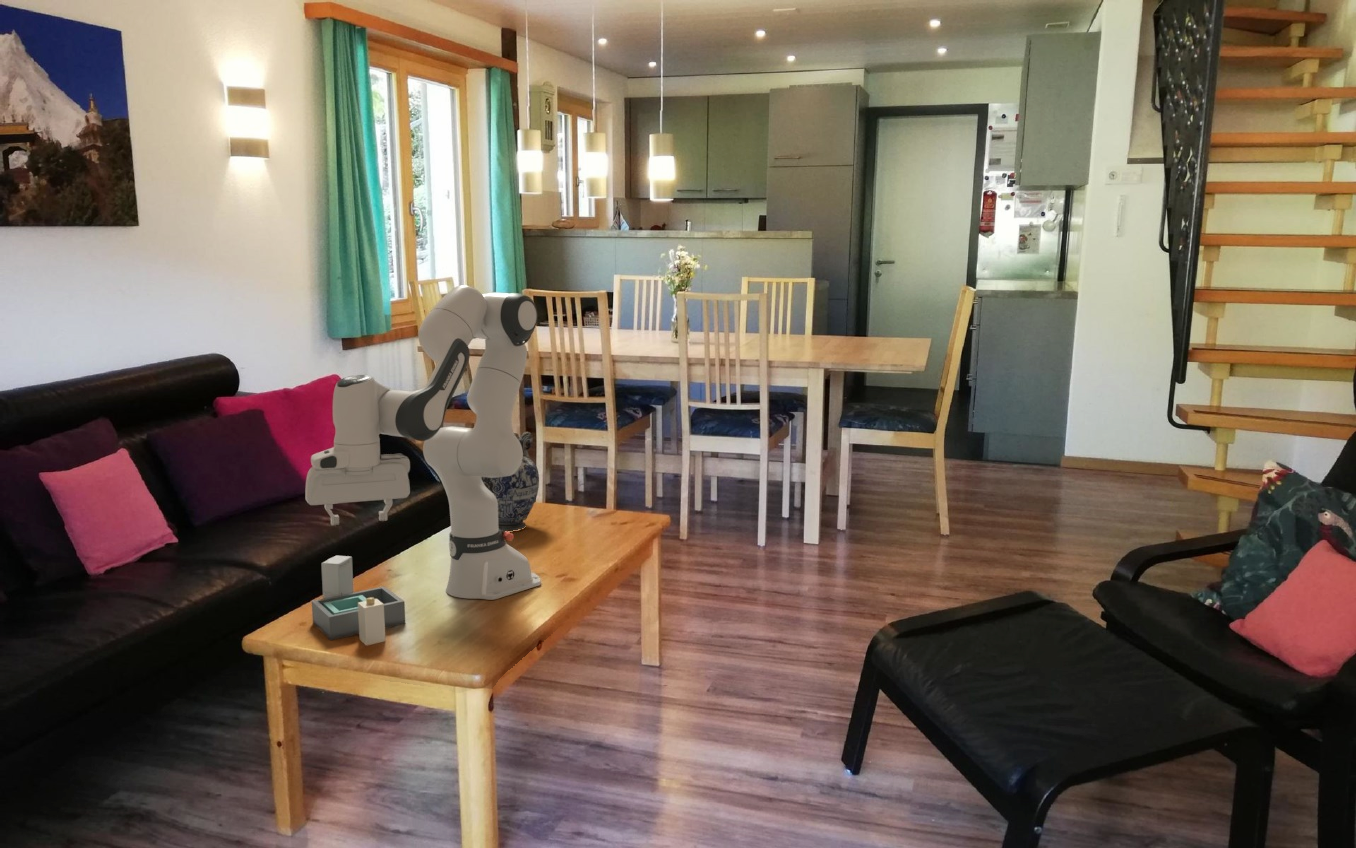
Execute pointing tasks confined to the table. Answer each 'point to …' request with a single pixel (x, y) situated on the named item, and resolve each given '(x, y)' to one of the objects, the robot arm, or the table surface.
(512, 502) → the decorative vase
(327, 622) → the organiser box
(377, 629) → the plug
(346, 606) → the inlet socket
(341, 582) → the skincare box
